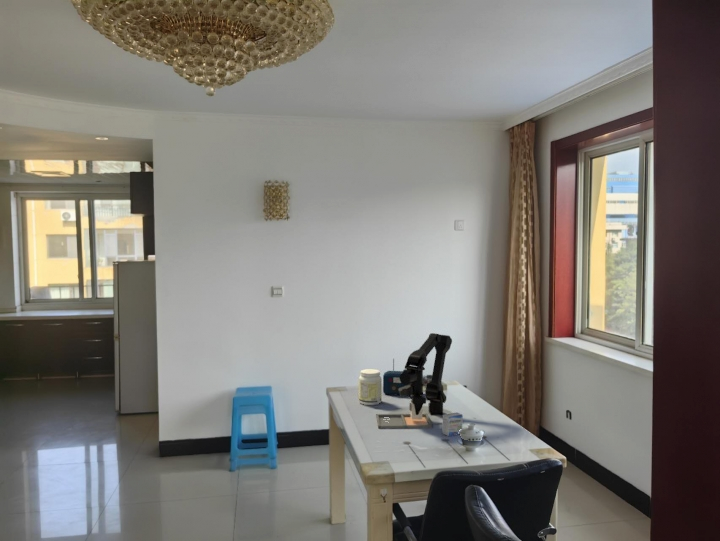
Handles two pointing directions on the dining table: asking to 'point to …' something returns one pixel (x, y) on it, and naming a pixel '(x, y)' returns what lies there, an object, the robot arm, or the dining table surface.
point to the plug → (413, 413)
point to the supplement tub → (370, 387)
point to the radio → (392, 382)
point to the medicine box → (452, 423)
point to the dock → (402, 421)
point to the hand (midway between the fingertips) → (416, 413)
